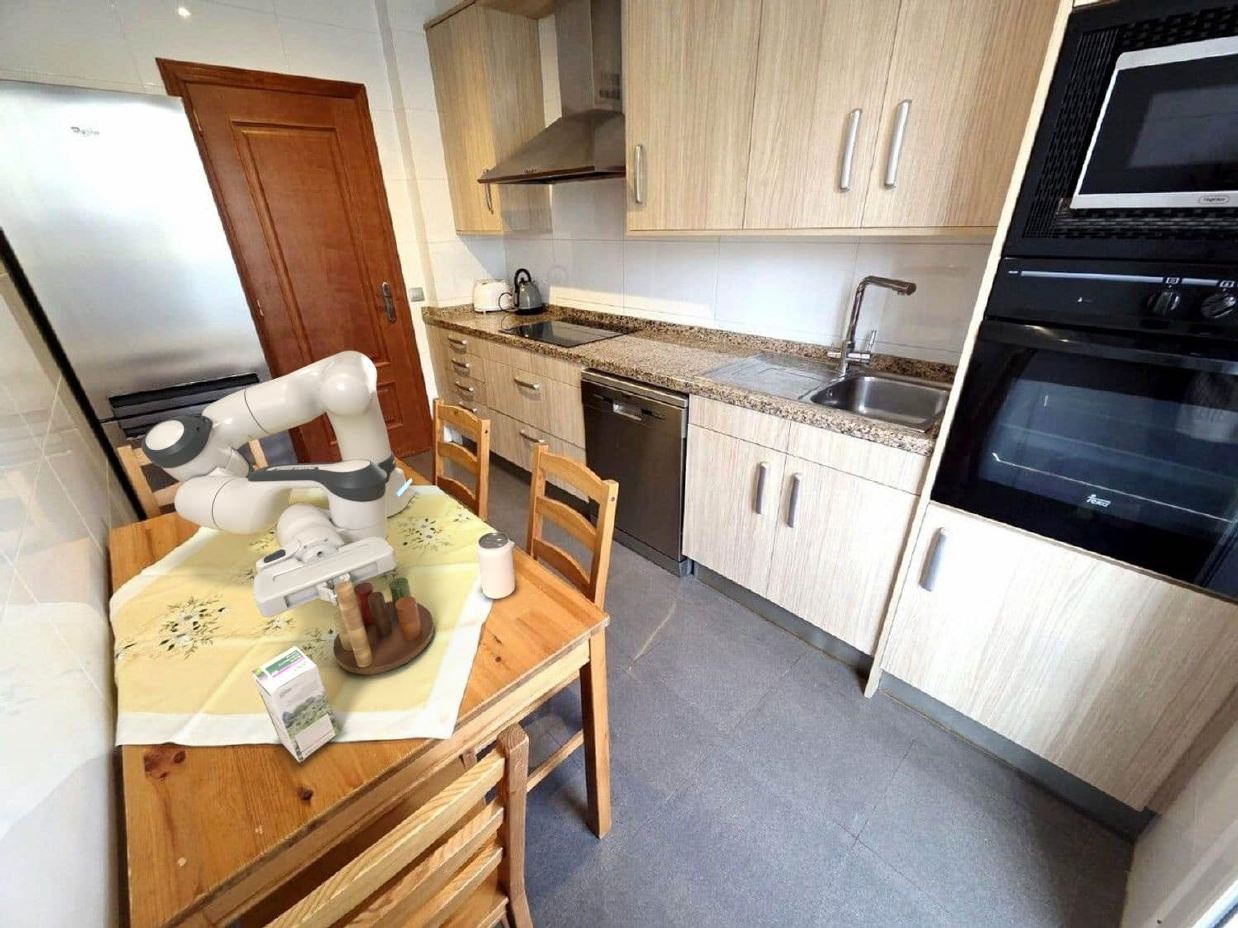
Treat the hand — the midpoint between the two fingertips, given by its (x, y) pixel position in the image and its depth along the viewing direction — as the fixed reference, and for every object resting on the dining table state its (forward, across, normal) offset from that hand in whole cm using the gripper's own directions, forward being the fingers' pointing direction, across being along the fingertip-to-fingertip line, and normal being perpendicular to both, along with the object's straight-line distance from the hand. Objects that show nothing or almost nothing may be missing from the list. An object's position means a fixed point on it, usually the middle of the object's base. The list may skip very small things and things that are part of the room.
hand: (342, 599), depth 77 cm
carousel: (-3, -5, -14) cm, 15 cm away
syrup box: (+8, +9, -15) cm, 20 cm away
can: (-3, -27, -15) cm, 31 cm away
